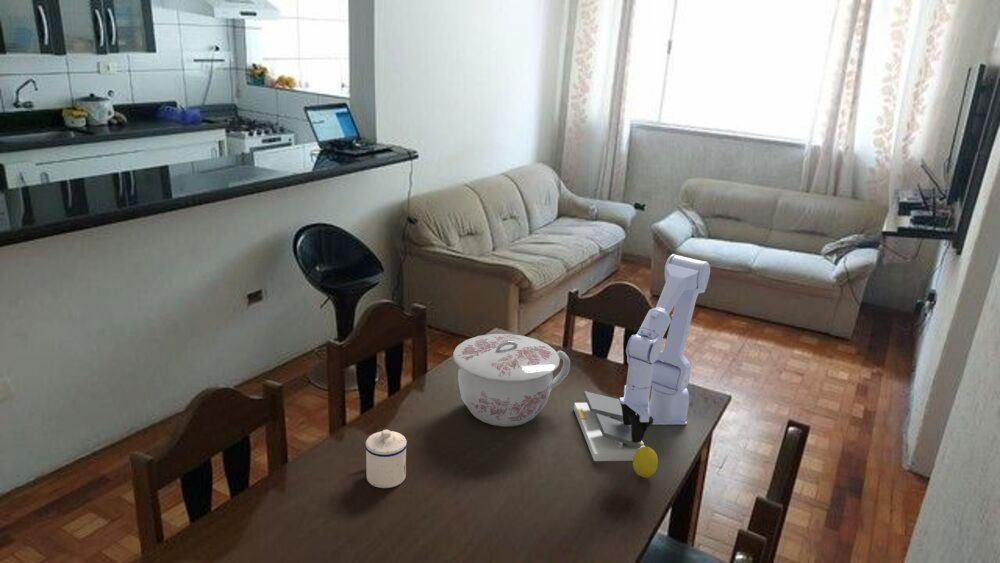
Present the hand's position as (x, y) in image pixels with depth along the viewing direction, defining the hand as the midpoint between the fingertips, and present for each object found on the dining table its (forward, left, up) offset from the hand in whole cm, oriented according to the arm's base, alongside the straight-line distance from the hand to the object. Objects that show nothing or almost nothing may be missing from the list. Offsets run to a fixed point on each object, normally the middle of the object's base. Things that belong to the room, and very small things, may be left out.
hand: (632, 432), depth 170 cm
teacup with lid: (+59, +9, -4) cm, 60 cm away
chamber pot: (+29, -17, -4) cm, 34 cm away
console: (+4, -6, -4) cm, 8 cm away
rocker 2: (+4, 0, 0) cm, 4 cm away
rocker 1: (+4, -12, 0) cm, 13 cm away
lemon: (0, +12, -4) cm, 13 cm away
